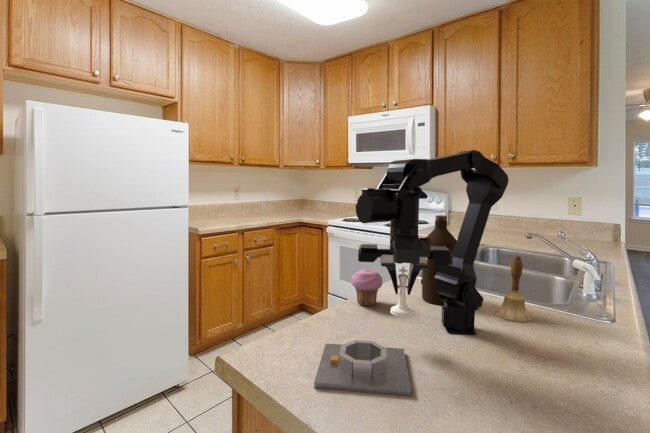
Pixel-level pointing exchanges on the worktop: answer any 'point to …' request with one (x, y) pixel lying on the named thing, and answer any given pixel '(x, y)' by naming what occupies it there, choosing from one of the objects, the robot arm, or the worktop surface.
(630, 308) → the worktop surface
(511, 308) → the hand bell
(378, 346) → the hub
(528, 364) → the worktop surface
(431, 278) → the olive oil
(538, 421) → the worktop surface
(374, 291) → the cupcake
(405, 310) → the chess piece
